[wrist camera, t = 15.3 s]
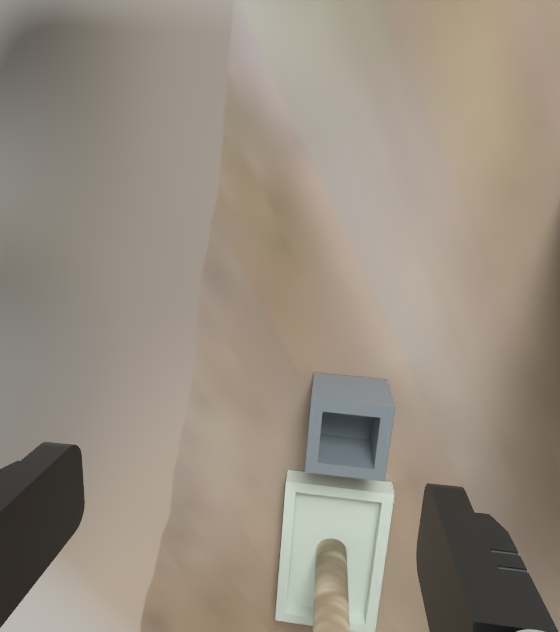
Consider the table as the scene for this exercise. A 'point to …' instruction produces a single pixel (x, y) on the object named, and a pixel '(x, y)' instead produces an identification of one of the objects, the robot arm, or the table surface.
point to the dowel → (331, 588)
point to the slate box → (349, 427)
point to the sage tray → (336, 523)
